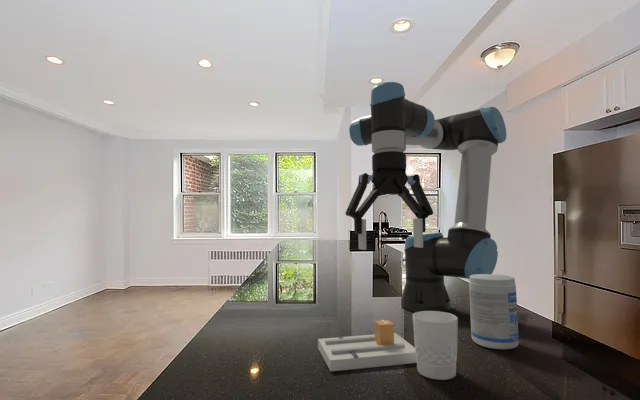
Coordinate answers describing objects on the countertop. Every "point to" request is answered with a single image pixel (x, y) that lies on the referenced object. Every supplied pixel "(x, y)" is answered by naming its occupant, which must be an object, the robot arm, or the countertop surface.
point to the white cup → (436, 344)
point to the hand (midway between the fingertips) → (391, 248)
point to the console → (364, 352)
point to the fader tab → (384, 332)
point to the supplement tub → (493, 311)
